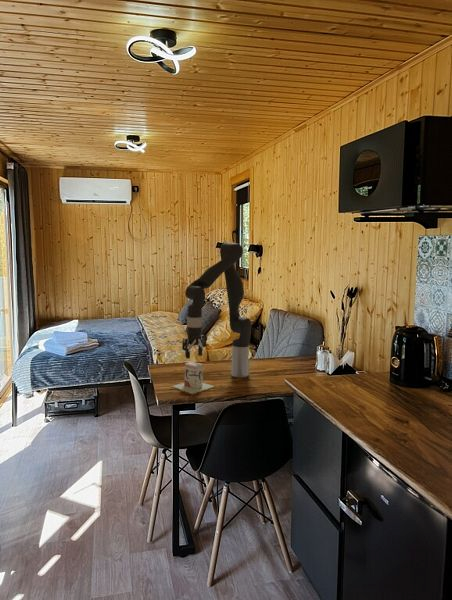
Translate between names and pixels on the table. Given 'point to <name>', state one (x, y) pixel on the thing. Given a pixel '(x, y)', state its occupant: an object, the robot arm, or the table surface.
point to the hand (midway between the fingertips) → (194, 356)
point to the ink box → (193, 375)
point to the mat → (192, 390)
